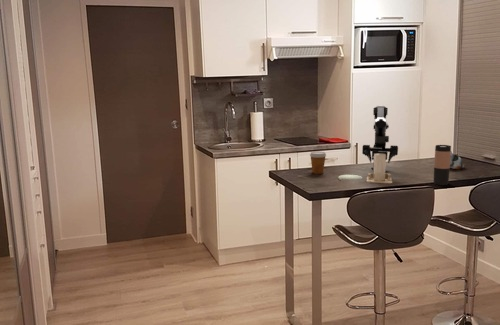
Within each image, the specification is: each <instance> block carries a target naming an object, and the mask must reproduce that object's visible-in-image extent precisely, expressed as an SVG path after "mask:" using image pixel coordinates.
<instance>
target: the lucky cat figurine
mask: <svg viewBox="0 0 500 325" xmlns="http://www.w3.org/2000/svg"><path fill="white" fill-rule="evenodd" d="M464 167H465V165H464V164H463V159H462V158H461V157H460V156H459V154H458V153H457V152H456V153H455V154H454V153H453V152H452V151H451V155H450V169H452V170H453V169H454V170H461V169H464Z"/></svg>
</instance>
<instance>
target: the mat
mask: <svg viewBox="0 0 500 325" xmlns="http://www.w3.org/2000/svg"><path fill="white" fill-rule="evenodd" d="M337 179H338V180H339V181H342V180H345V181H346V180H347V181H348V180H349V181H356V180H357V181H358V180H362V179H363V177H362V176H361V175H357V174H356V175H355V174H341V175H339V176H338V178H337Z"/></svg>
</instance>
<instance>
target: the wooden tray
mask: <svg viewBox="0 0 500 325" xmlns="http://www.w3.org/2000/svg"><path fill="white" fill-rule="evenodd" d="M373 178H374V172H368V176H366V183H374V184H375V183H376V184H377V183H378V184H379V183H381V184H393V180H392V179H393V178H392V177H391V173H386V172H385V181H375V180H373Z"/></svg>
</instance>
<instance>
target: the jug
mask: <svg viewBox="0 0 500 325" xmlns="http://www.w3.org/2000/svg"><path fill="white" fill-rule="evenodd" d="M386 161H387V160H386V154H383V153H376V154H374V160H373V164H374V169H373V173H374V178H373V180H375V181H385V173H386V170H385V169H386V164H387V163H386Z"/></svg>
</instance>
